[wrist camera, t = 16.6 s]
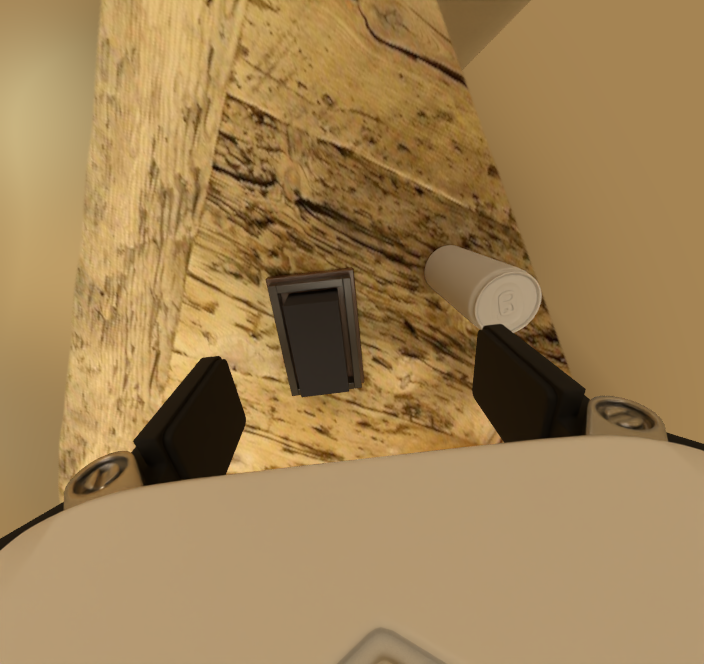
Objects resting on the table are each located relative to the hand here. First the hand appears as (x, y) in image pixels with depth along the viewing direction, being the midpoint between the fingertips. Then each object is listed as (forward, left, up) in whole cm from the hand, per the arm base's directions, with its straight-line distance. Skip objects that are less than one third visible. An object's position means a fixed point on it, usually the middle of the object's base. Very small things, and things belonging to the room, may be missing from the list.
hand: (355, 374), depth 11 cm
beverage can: (-7, +8, -21) cm, 23 cm away
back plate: (+7, +3, -21) cm, 22 cm away
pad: (+7, +3, -20) cm, 21 cm away
